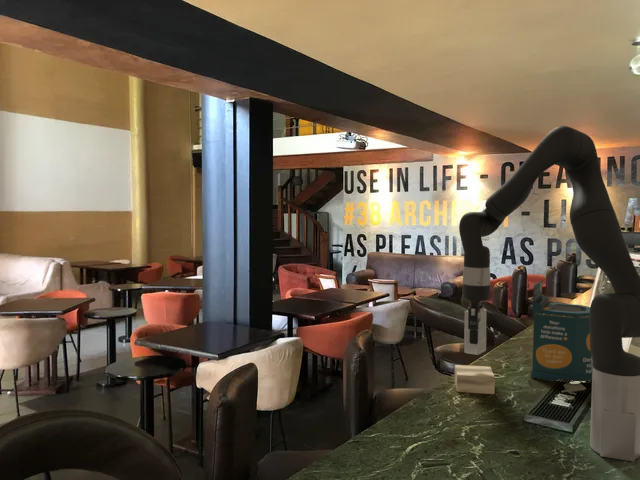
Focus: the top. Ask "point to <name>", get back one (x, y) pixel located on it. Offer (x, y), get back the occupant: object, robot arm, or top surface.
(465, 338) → the skincare box
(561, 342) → the donation box
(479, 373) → the birch block
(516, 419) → the top surface
